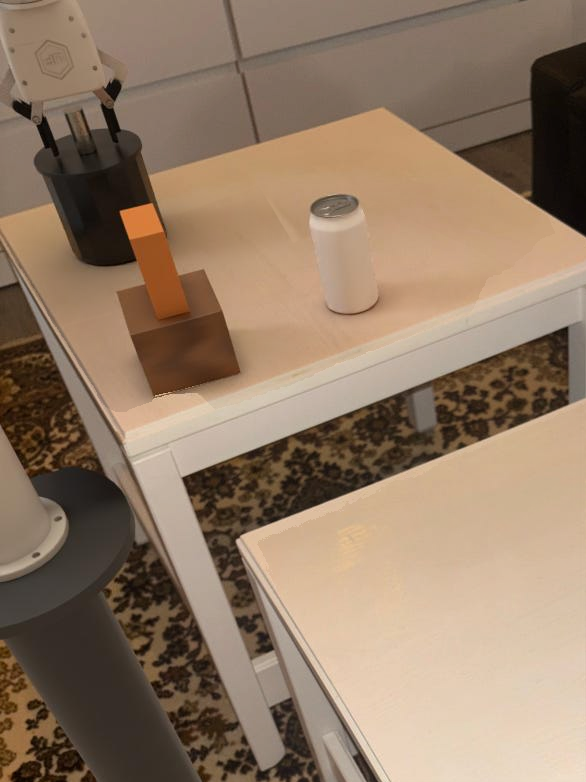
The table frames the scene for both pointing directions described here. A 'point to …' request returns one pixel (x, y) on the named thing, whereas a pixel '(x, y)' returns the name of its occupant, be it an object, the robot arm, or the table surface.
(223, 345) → the riser
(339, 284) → the can
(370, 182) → the table surface
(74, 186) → the trash tin
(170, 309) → the block
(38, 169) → the tin lid
